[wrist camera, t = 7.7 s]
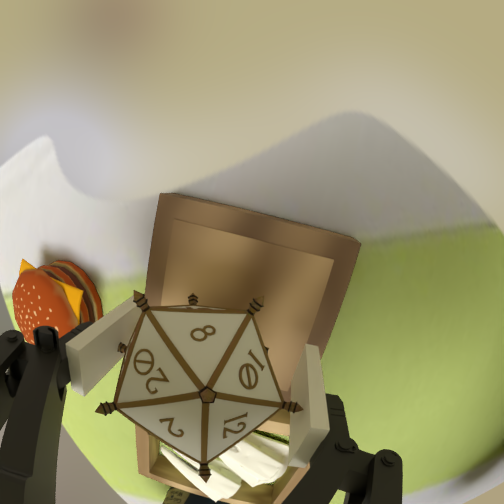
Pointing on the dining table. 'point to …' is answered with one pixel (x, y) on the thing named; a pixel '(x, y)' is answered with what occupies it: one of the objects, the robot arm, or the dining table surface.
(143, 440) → the oak frame
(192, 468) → the white folded napkins
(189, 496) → the canister
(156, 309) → the game die
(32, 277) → the hamburger
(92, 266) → the dining table surface
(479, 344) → the dining table surface
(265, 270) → the walnut board
